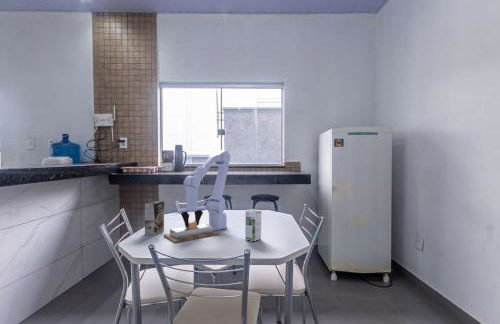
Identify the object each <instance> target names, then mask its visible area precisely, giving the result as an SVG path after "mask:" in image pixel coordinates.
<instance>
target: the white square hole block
mask: <svg viewBox="0 0 500 324" xmlns="http://www.w3.org/2000/svg"><path fill="white" fill-rule="evenodd" d="M210 232H213V226H211V225H209V223H208V224H207V223H199V225H198V226H197V228H196V229H190V230H189V229H187V228H186V227H185V226H181V227H175V228H170V229H169V233H170V235H171V236H172V237H174V238H176V239H177V238H182V237H188V236H193V235H199V234H204V233H210Z"/></svg>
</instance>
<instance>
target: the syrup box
mask: <svg viewBox="0 0 500 324" xmlns="http://www.w3.org/2000/svg"><path fill="white" fill-rule="evenodd" d="M244 221H245V227H244V229H245V230H244V231H245V235H244V236H245V238H244V240H245V241H248V240H250V241H249V242H252V241H256V240H259V239H261V240H262V210H260V209H253V208H249V209H245V220H244ZM259 241H260V240H259ZM256 242H257V241H256Z"/></svg>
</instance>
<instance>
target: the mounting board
mask: <svg viewBox="0 0 500 324" xmlns="http://www.w3.org/2000/svg"><path fill="white" fill-rule="evenodd" d="M214 236H220V232H218V231H217V230H213V232H210V233H204V234H199V235H193V236H188V237H182V238H177V239H176V238H174V237H172V236H171V235H170V232H169V233H165V234H163V237H164V238H165V239H167V240H168V241H171V242H172V243H174V244H177V243H183V242H187V241H193V240H198V239H203V238H209V237H214Z"/></svg>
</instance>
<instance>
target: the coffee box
mask: <svg viewBox="0 0 500 324" xmlns="http://www.w3.org/2000/svg"><path fill="white" fill-rule="evenodd" d="M164 231H165V201H164V200H161V201H160V200H159V201H157V200H156V201H150V202H146V203H145V204H144V235H148V236H149V235H151V236H156V235H158V234H161V233H162V232H164Z"/></svg>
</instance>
